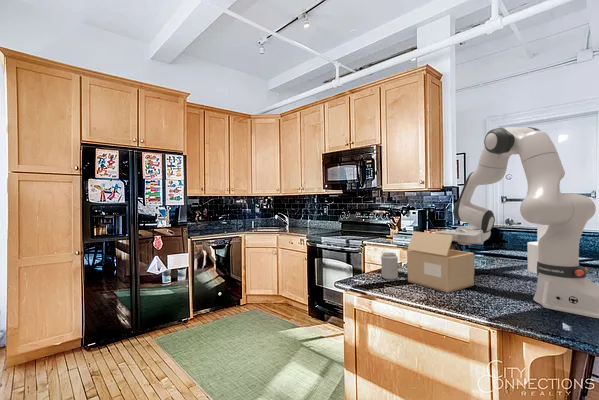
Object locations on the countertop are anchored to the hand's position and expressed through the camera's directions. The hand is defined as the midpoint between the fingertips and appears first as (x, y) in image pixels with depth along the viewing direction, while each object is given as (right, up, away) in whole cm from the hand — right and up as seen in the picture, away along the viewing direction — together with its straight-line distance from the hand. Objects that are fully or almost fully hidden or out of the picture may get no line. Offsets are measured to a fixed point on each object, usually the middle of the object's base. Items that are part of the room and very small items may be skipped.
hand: (446, 237), depth 141 cm
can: (-24, -20, +8) cm, 32 cm away
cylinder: (+57, -19, +14) cm, 62 cm away
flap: (-10, -2, -6) cm, 12 cm away
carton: (-4, -20, -3) cm, 21 cm away
